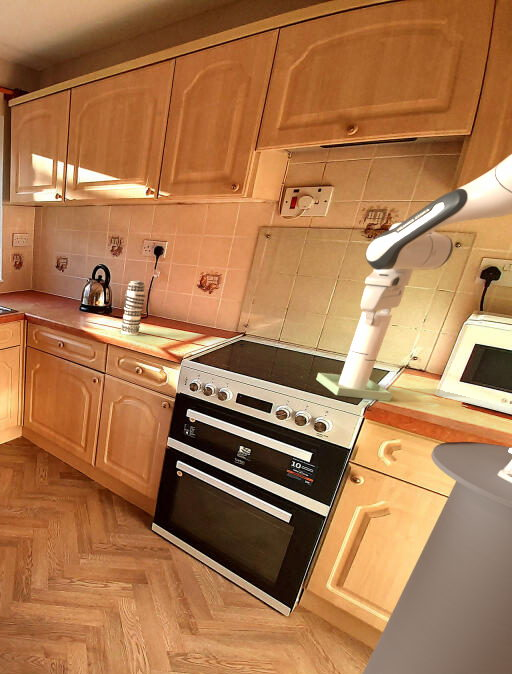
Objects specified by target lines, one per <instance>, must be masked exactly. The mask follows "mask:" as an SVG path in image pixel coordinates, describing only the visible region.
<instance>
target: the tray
mask: <svg viewBox="0 0 512 674" xmlns="http://www.w3.org/2000/svg"><path fill="white" fill-rule="evenodd" d="M340 377H341V374H337V373H336V374H335V373H325V372H317V376H316V378H315V381H317V382H319V383H320V384H321V385H322V386H324V387H325V388H326V389H328V390H329V391H330V392H331V393H333V394H334V395H335V396H339V397H348V398H356V399H366V400H376V401H383V402H391V400H392V397H393V395H394V393H393V392H391V391H390V390H388V389H386V388H385V387H383V386H381V385H379V384H378V383H377V382H376V381H375V382H374V381H373V380H372V379H370V378H369V381H368V383H367V386H366V389H365V390H361V389H351V388H341V387H339V386H338V383H339V380H340Z"/></svg>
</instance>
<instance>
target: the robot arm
mask: <svg viewBox="0 0 512 674" xmlns="http://www.w3.org/2000/svg"><path fill="white" fill-rule="evenodd" d="M508 215H512V153H510V154H509V155H508V156H506V158H504V159H503V160H502V161H500V162H499V163H498V164H496V165H495V166H494V167H493V168H491V169H490V170H488V171H487V172H485V173H483V174H481V176H479V177H477V178H475V179H473V180H472V181H470V182H468V183H466V184H464V185H462V186H460V187H458V188H456V189H454V190H451V191H449V192H447V193H445V194H443V195H441V196H440V197H438V198H436V199H435V200H433V201H432V202H430V203H429V204H427V205H425V206H424V207H423V208H421V209H420V210H418V211H417V212H416V213H414V214H412V215H411V216H410V217H408V218H407V219H406V220H405V219H404V220H403V221H398V222H395V223H393V224H391V226H390V228H389V229H388V230H385V231H384V232H382V233H380V234H379V235H377V236H376V237H375V238H374V239H372V241H370V242H369V244H368V245H367V247H366V250H365V256H364V257H365V259H366V262H367V263H368V265H369V266H370V267H371V268H373V269H372V270H373V271H372V272H371V273H370V274H369V275H368V276H366V278H365V281H364V284H365V285H366V286H365V287H364V289H363V293H362V296H361V301H360V310H361V311H366V313H365V318H366V319H365V322H364V324H366V325H372V324H373V322H374V316H375V314H376V312H379V311H380V313H386V314H390V313H391V311H392V309H394V308H397V307H399V306H400V304H401V302H402V298H403V295H404V291H405V287H406V286H408V285H409V283H410V280H411V277H412V274H413V271H430V270H431V271H432V270H436V269H438V268H440V267H443V266H444V265H445V264H446V263H447V262H448V261H449V259H451V256H452V254H453V251H454V242H453V240H452V238H451V237H450V236H448V235H445V234H441V233H440V232H437V231H436V230H437V229H439V228H442V227H444V226H445V227H446V226H448V225H451V224H455V223H456V224H457V223H461V222H466V221H474V220H481V219H482V220H483V219H492V218H501V217H504V216H508ZM509 452H510V453H512V448H510V450H509ZM497 475H498V476H499V477H501V478H503V479H505V480H507V481H509V482H510V483H512V460H511V462H510V463H509V464H508V465H507V466H506V467H504V469H503V470H500V471H499V473H498V474H497Z"/></svg>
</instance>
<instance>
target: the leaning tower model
mask: <svg viewBox="0 0 512 674" xmlns="http://www.w3.org/2000/svg"><path fill="white" fill-rule="evenodd" d="M145 286H146V284H145V283H144V281H142V280H136V279H135V280H134V279H133V280H130V281H129V283H127V290H126V293H125V294H124V300H125V301H124V305H123V308H124V313H123V317H122V321H121V323H122V324H121V327H120V329H121V330H120V333H121V334H123V335H127V336H128V335H129V336H136V335H139V334H140V333H139V332H140V328H141V326H140V325H141V320H142V319H141V315H142V311H143V308H144V307H143V305H144V302H145V299H144V298H146V295H145V288H146V287H145Z"/></svg>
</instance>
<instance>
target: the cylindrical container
mask: <svg viewBox="0 0 512 674" xmlns="http://www.w3.org/2000/svg"><path fill="white" fill-rule="evenodd" d="M380 312H381V311H380ZM380 312H379V311H377V312H376V314H375V316H374V322H373V324H372V325H366V324H364V322H365V319H366V318H365V313H366V311H365V310H363V311H362V312H361V316H360V319H359V321H358V324H357V327H356V330H355V333H354V336H353V339H352V341H351V345H350V348H349V351H348V354H347V356H346V360H345V362H344V366H343V369H342V370H341V374H340V375H341V377H340V380H339V383H338V386H339V387H341V388H351V389H361V390H365V389H366V386H367V383H368V381H369V379H370V377H371V375H372V373H373V369H374V366H375V364H376V361H377V359H378V356H379V353H380V351H381V347H382V345H383V342H384V339H385V336H386V333H387V332H388V331H387V330H388V328H389V326H390V322H391V320H392V317H393V315H392V314H390V313H389V314H386V313H380Z"/></svg>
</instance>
